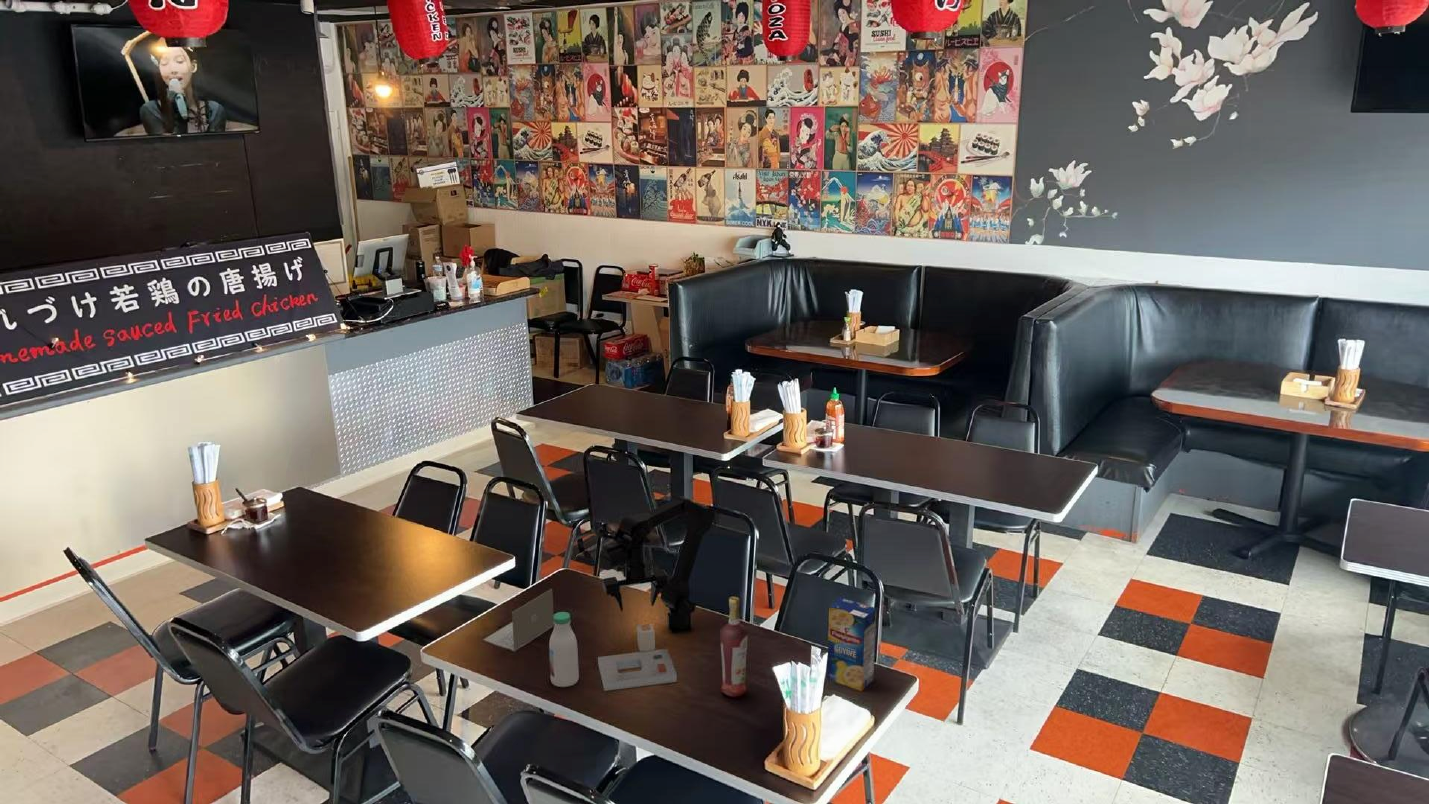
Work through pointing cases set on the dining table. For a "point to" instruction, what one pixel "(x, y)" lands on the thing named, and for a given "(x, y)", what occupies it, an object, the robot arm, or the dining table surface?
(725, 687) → the liquor
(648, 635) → the plug
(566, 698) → the dining table surface
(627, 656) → the switch plate
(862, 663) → the beverage box
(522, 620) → the laptop
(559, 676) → the milk bottle
